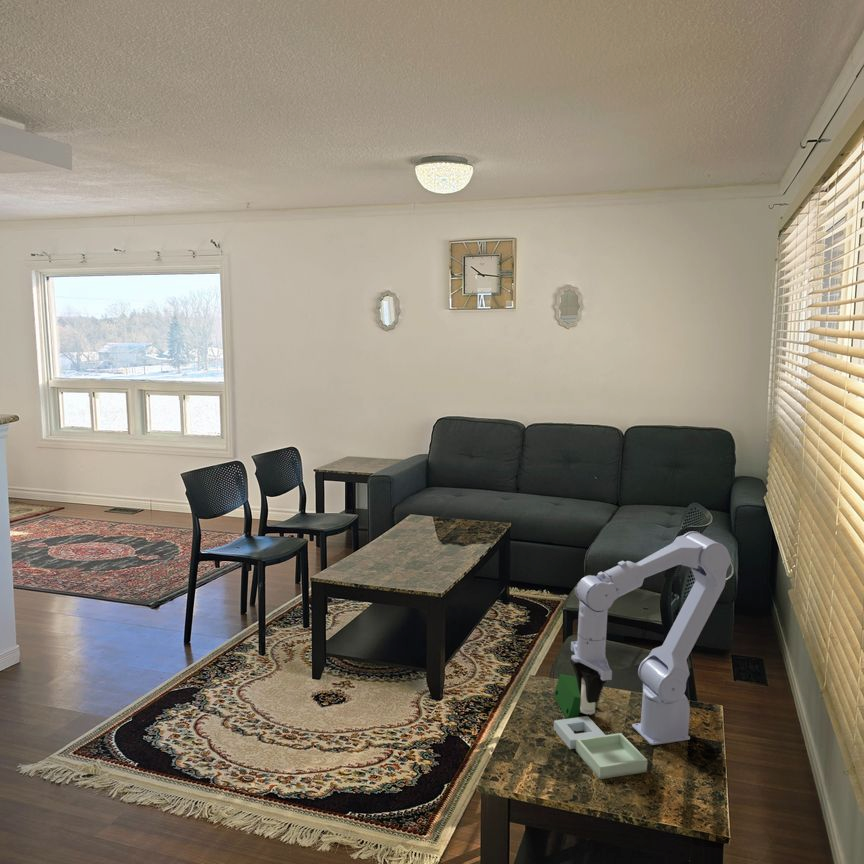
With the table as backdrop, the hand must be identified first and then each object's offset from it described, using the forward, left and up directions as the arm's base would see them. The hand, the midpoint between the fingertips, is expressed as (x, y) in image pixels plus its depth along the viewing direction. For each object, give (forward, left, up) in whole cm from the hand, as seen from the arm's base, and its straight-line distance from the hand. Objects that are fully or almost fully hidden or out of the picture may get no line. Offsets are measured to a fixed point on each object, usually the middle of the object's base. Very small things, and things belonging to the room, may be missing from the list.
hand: (588, 697), depth 160 cm
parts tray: (-1, +8, -10) cm, 13 cm away
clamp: (-4, -13, -10) cm, 17 cm away
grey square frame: (+1, -2, -10) cm, 10 cm away
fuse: (0, 0, -3) cm, 3 cm away
